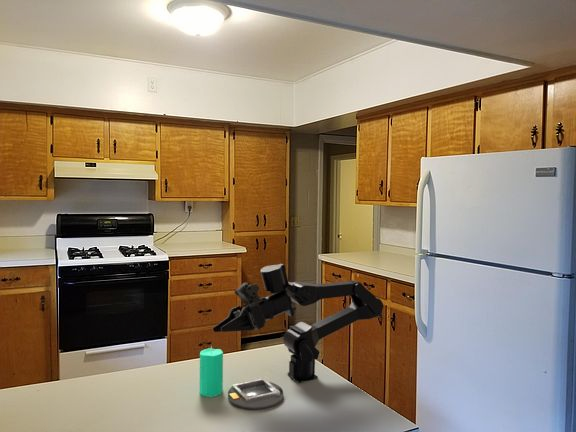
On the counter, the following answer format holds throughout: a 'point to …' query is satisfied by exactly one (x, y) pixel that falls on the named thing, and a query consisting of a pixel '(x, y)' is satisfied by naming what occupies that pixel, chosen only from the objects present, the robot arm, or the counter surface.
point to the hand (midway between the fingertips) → (217, 330)
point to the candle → (211, 372)
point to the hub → (255, 395)
